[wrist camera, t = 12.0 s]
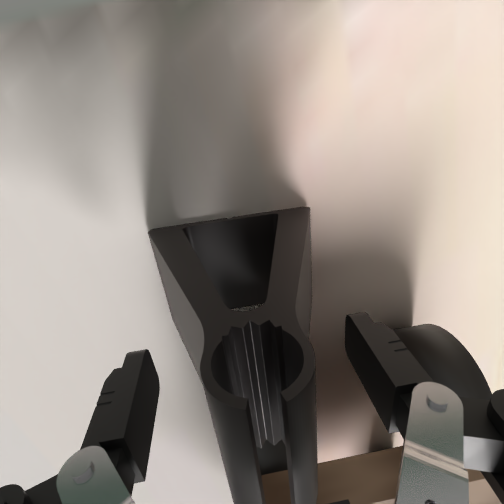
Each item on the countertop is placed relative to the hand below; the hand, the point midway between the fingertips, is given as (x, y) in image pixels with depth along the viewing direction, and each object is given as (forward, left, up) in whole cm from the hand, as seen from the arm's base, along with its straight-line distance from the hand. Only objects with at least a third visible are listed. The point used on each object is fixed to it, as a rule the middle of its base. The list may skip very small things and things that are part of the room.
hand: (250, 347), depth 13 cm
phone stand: (0, 0, -7) cm, 7 cm away
